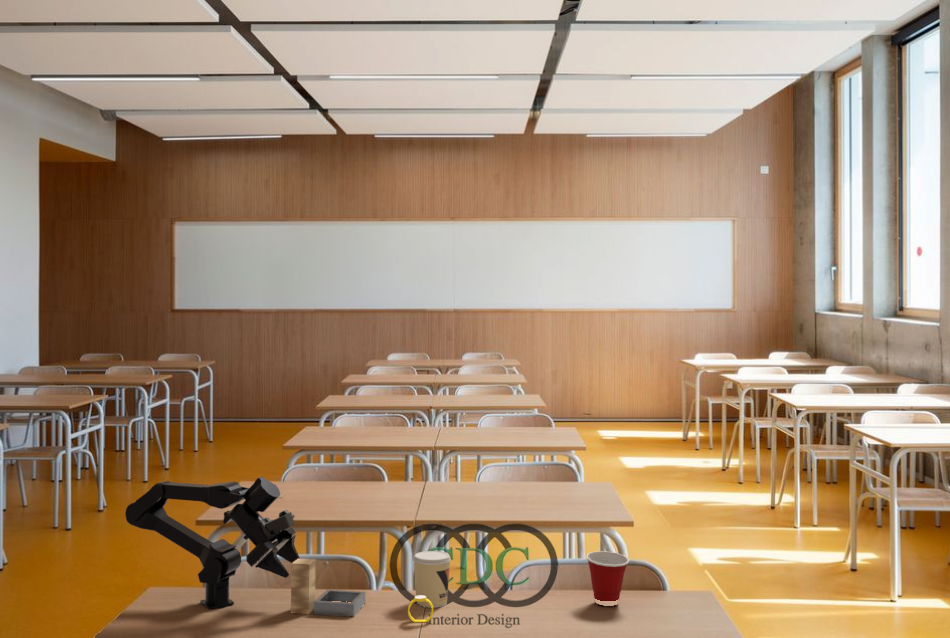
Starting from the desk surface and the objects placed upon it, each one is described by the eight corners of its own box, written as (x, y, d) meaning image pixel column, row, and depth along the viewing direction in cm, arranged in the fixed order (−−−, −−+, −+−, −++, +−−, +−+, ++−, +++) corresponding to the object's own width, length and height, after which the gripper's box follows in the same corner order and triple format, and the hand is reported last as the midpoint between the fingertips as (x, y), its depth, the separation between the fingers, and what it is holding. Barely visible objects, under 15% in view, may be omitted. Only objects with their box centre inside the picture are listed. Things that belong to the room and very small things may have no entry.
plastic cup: (605, 613, 213) (605, 564, 214) (576, 601, 222) (577, 554, 223) (638, 606, 219) (638, 558, 219) (608, 595, 228) (609, 548, 229)
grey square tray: (313, 614, 210) (313, 601, 210) (327, 601, 220) (327, 589, 220) (353, 616, 209) (354, 604, 209) (365, 603, 218) (365, 591, 219)
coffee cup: (445, 610, 214) (445, 561, 214) (408, 607, 216) (409, 558, 216) (453, 598, 223) (454, 551, 224) (418, 596, 225) (419, 549, 226)
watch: (408, 625, 204) (406, 599, 204) (408, 621, 207) (407, 596, 207) (433, 623, 205) (432, 597, 205) (433, 619, 207) (432, 594, 207)
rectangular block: (290, 613, 211) (291, 563, 211) (297, 607, 215) (298, 558, 215) (308, 614, 210) (309, 564, 210) (314, 608, 215) (315, 559, 215)
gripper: (259, 509, 205) (303, 558, 203) (288, 494, 223) (329, 539, 222) (227, 541, 206) (271, 591, 204) (258, 524, 225) (299, 569, 223)
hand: (294, 571), depth 213 cm, fingers open, 9 cm apart
